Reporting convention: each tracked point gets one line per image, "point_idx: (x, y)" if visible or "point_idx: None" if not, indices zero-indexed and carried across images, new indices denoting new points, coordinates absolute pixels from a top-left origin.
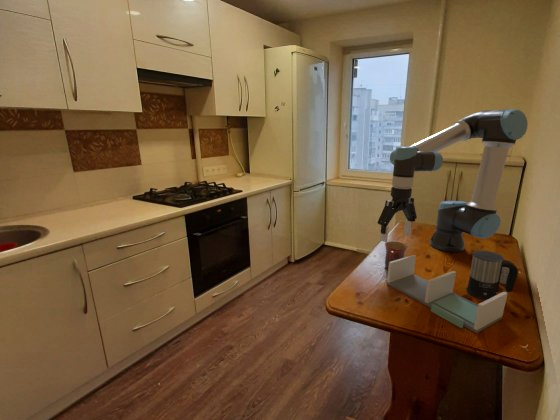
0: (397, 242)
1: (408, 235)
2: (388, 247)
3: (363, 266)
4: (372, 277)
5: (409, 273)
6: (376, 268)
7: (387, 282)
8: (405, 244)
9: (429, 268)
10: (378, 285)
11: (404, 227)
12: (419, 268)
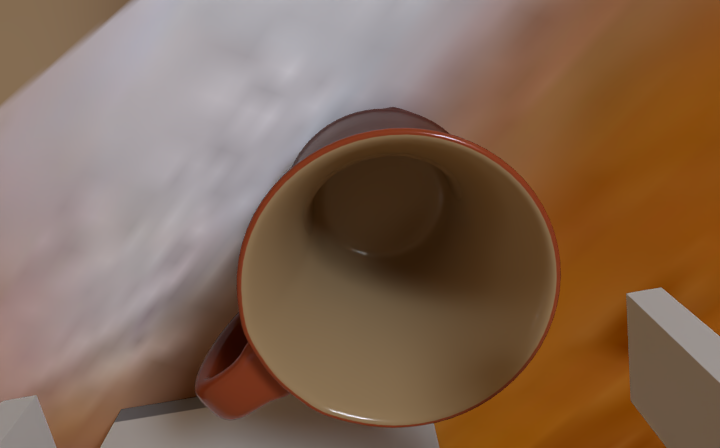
0: (515, 192)
1: (640, 407)
2: (239, 311)
3: (89, 58)
4: (61, 286)
5: None
6: (201, 145)
7: (117, 423)
8: (552, 313)
9: None
10: (41, 407)
11: (714, 382)
12: (600, 279)
